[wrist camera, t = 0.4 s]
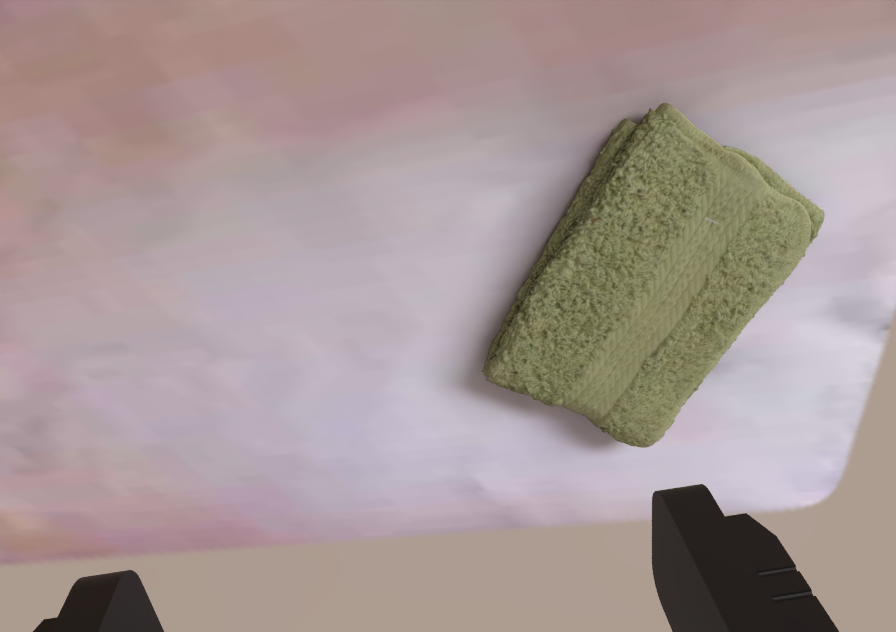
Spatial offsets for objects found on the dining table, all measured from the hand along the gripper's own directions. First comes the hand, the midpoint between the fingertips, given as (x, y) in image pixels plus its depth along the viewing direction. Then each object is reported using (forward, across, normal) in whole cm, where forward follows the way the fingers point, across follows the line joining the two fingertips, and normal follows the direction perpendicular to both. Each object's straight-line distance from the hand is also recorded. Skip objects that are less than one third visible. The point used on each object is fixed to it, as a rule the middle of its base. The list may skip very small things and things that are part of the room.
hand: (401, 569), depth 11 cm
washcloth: (+29, -13, +10) cm, 33 cm away
